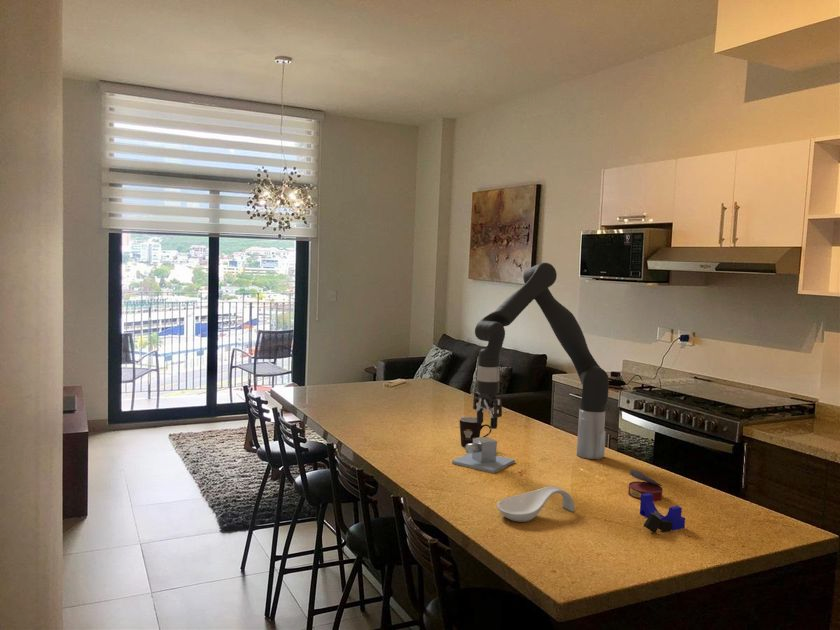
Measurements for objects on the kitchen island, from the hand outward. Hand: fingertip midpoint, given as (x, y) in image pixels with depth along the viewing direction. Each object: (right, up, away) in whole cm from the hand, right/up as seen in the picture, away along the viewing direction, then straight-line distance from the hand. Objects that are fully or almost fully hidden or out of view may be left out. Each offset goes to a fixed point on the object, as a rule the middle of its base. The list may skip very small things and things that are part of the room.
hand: (486, 425), depth 230 cm
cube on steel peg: (-2, -12, +1) cm, 12 cm away
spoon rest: (+9, -18, -45) cm, 49 cm away
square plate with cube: (-1, -13, +1) cm, 13 cm away
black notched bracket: (+40, -19, -53) cm, 69 cm away
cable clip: (+44, -19, -46) cm, 66 cm away
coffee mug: (-3, -12, +22) cm, 25 cm away
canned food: (+46, -18, -25) cm, 55 cm away
